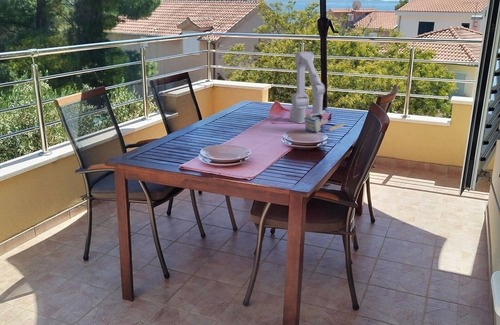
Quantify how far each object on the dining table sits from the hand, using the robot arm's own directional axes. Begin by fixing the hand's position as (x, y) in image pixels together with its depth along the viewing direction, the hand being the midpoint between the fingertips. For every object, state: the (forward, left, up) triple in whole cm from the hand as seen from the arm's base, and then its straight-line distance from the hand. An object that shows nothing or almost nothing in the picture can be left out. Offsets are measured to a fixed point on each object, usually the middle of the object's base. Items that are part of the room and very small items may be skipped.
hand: (316, 127), depth 293 cm
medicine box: (0, -2, -2) cm, 3 cm away
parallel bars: (0, +12, -2) cm, 12 cm away
